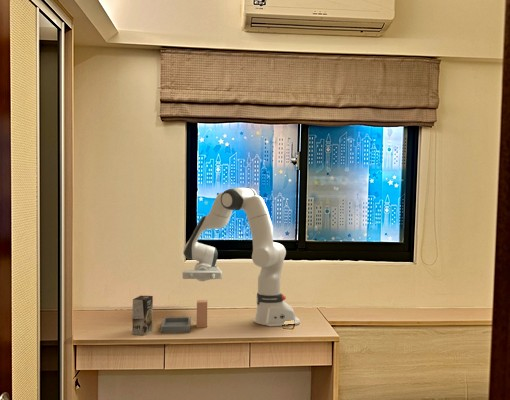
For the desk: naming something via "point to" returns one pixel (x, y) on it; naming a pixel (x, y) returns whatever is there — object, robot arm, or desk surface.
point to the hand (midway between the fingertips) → (202, 277)
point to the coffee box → (142, 315)
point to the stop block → (201, 313)
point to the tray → (176, 325)
